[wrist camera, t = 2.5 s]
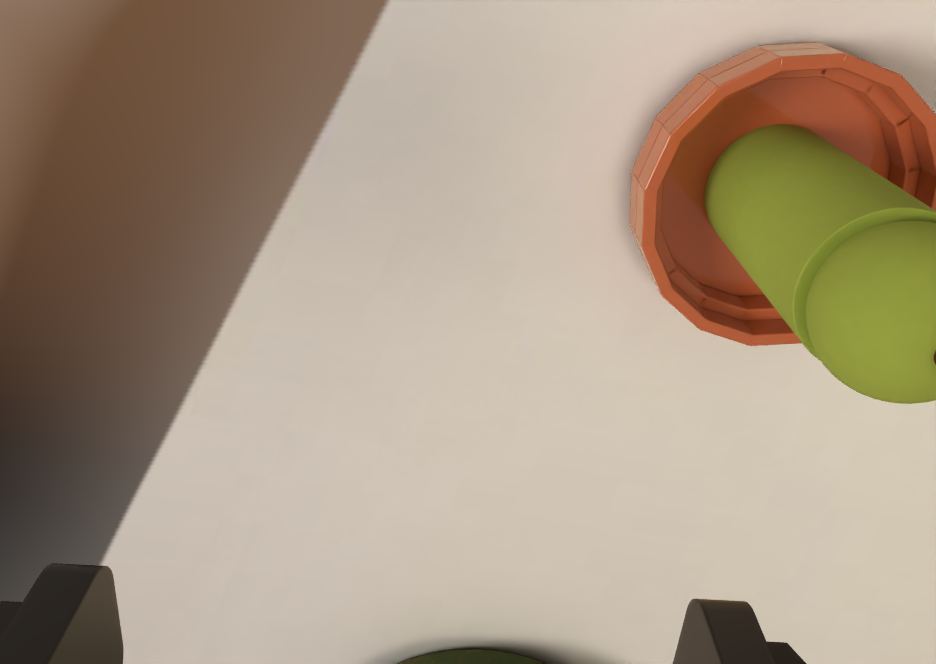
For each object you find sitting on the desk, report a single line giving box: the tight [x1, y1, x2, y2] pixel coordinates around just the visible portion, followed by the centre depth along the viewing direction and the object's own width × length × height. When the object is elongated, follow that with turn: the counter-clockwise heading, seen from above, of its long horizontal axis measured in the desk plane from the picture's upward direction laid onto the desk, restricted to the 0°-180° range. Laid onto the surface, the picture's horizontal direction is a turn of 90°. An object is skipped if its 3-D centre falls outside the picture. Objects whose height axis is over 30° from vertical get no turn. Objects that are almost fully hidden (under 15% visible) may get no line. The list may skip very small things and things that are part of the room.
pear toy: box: [705, 124, 936, 404], centre depth 27 cm, size 5×5×15 cm
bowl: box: [630, 42, 936, 346], centre depth 32 cm, size 11×11×3 cm
